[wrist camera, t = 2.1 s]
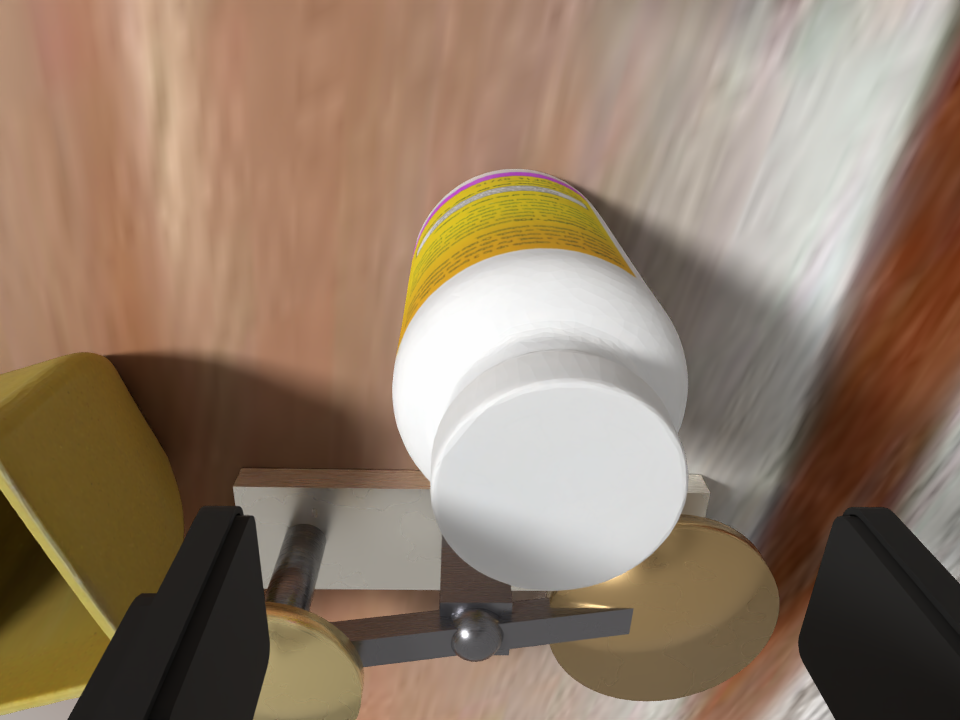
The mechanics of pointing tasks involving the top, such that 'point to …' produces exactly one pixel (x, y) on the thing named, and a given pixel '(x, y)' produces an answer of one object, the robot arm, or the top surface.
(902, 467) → the top surface
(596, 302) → the supplement bottle
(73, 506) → the flower pot
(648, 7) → the top surface
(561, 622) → the balance
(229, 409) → the top surface
